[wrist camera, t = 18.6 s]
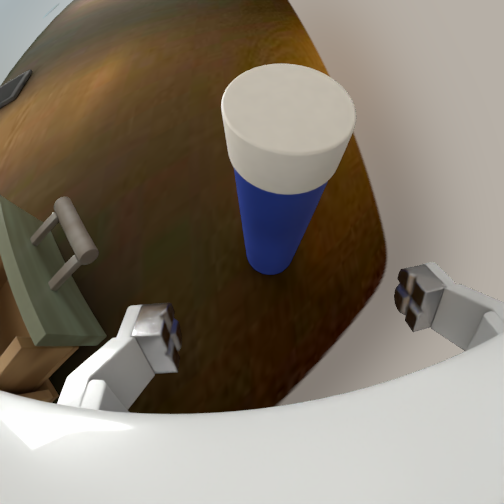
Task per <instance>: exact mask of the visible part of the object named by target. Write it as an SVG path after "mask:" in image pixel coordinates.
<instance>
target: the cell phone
mask: <svg viewBox="0 0 504 504" xmlns="http://www.w3.org/2000/svg"><path fill="white" fill-rule="evenodd" d="M31 74H32V70H28V71H26V72H24V73H22V74H21V75H19V76H17V77H15V78H14V79H12V80H10V81H9V82H7V83H5V84H4V85H2V86H1V87H0V108H1V107H2V106H4V105H6V104H8V103H9V102H11V101H13V100H14V99H15V98H16V97H17V96H18V94H19V93H20V91H21V89H22V88H23V86H24V84H25V83H26V81H27V80H28V78H29V77H30V75H31Z"/></svg>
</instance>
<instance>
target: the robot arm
mask: <svg viewBox="0 0 504 504" xmlns="http://www.w3.org/2000/svg"><path fill="white" fill-rule="evenodd" d="M398 280H399V282H400V284H399V285H398V286H397V287H396V289H395V295H394V298H395V304H396V307H397V309H398V311H399V312H400V313H402V314H404V315H406V318H405V321H406V322H407V324H408V325H409V327H410V328H411V330H412V331H413V332H415V331H418V330H422V329H426V328H429V327H431V329H433V330H434V331H436V332H437V333H439V334H440V335H442V336H443V337H445V338H447V339H448V340H449V341H451V342H452V343H454V344H456V345H457V346H458V347H460V348H461V349H463V350H464V351H465V352H463V353H461V354H459V355H456V356H454V357H451V358H449V359H447V360H444V361H442V362H440V363H437V364H435V365H432V366H429V367H427V368H424V369H422V370H419V371H416V372H413V373H410V374H408V375H405V376H402V377H399V378H396V379H393V380H390V381H386V382H383V383H380V384H377V385H373V386H370V387H367V388H363V389H359V390H355V391H352V392H347V393H343V394H339V395H335V396H331V397H326V398H322V399H317V400H312V401H306V402H301V403H295V404H289V405H283V406H276V407H269V408H261V409H253V410H243V411H232V412H218V413H199V414H145V413H130V412H129V411H128V409H129V408H130V406H131V405H132V404H133V402H134V401H135V400H136V399H137V397H138V396H139V395H140V393H141V392H142V391H143V390H144V388H145V387H146V386H147V384H148V383H149V382H150V381H151V379H152V378H153V377H154V375H155V374H156V373H173V372H178V368H179V360H180V356H179V354H178V352H177V351H178V350H179V349H180V348H181V345H182V333H181V329H180V325H179V322H178V321H177V320H175V319H174V314H175V311H174V308H173V306H172V304H171V303H159V304H144V305H132V306H129V307H128V309H127V311H126V314H125V316H124V319H123V321H122V324H121V327H120V329H119V332H118V335H117V337H116V338H112V339H111V340H109V341H108V342H107V343H106V344H105V345H104V346H102V347H101V348H100V349H99V350H98V351H96V352H95V353H94V354H93V355H92V356H91V357H89V358H88V359H87V360H86V361H85V362H84V363H82V364H81V365H80V366H79V367H78V368H77V369H75V370H74V371H73V372H72V373H71V374H70V375H68V376H67V379H66V381H65V384H64V386H63V389H62V392H61V394H60V397H59V400H58V402H57V404H55V403H49V402H44V401H40V400H35V399H31V398H27V397H23V396H19V395H15V394H11V393H8V392H4V391H1V390H0V504H504V302H502V301H499V300H497V299H495V298H492V297H490V296H488V295H485V294H483V293H481V292H478V291H476V290H474V289H471V288H469V287H466V286H464V285H462V284H456V283H455V282H454V281H453V280H452V279H451V278H450V277H449V276H448V275H447V274H446V273H445V272H444V271H443V270H442V269H441V268H440V267H439V266H438V265H437V264H436V263H434V262H431V263H426V264H423V265H419V266H415V267H410V268H405V269H401V270H400V272H399V275H398Z"/></svg>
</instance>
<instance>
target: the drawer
mask: <svg viewBox="0 0 504 504" xmlns="http://www.w3.org/2000/svg"><path fill="white" fill-rule="evenodd" d="M54 210H55V212H53V213H52V215H51V216H50V217H49V218H48V219H47V220H46V221H45V222H44V223H43V222H41V221H40V220H38V219H36V218H35V217H33V216H32V215H30V214H28V213H27V212H25V211H24V210H22V209H21V208H19V207H17V206H16V205H14V204H13V203H11V202H10V201H8V200H7V199H5V198H4V197H2V196H1V195H0V390H1V391H4V392H8V393H11V394H15V395H19V394H25V393H31V392H35V391H36V390H37V389H38V388H39V387H40V386H41V385H42V384H43V383H44V382H45V381H46V380H47V379H48V378H49V377H50V376H51V375H52V374H53V373H54V372H55V371H56V370H57V369H58V368H59V367H60V366H61V365H62V364H63V363H64V362H65V361H66V360H67V359H68V358H69V357H70V356H71V355H72V354H73V353H74V352H75V351H76V350H77V349H78V348H79V346H94V345H98V344H99V343H100V342H101V341H102V340H104V339H105V338H106V337H107V335H106V334H105V332H104V331H103V329H102V328H101V326H100V324H99V323H98V321H97V320H96V318H95V316H94V315H93V313H92V311H91V310H90V308H89V306H88V305H87V303H86V301H85V299H84V298H83V296H82V294H81V292H80V290H79V289H78V287H77V285H76V283H75V281H74V279H73V277H72V274H73V273H74V272H75V271H76V270H77V269H78V268H79V267H80V266H81V265H87V264H90V263H92V262H93V261H94V260H95V259H96V258H97V257H98V254H99V251H98V249H97V248H96V246H95V244H94V243H93V241H92V239H91V237H90V235H89V234H88V232H87V230H86V228H85V226H84V225H83V223H82V221H81V219H80V217H79V215H78V213H77V211H76V209H75V208H74V206H73V204H72V202H71V200H70V198H68V197H61V198H59V199H58V200H57V201H56V202H55V204H54ZM59 222H60V224H61V226H62V228H63V230H64V232H65V235H66V237H67V239H68V241H69V243H70V245H71V247H72V249H73V251H74V253H75V255H73V256H72V257H71V258H70V259H69V260H68V261H67V263H65V261H64V259H63V257H62V255H61V253H60V251H59V249H58V247H57V244H56V242H55V240H54V238H53V235H52V233H51V230H52V229H53V228H54V227H55V226H56V225H57V224H58V223H59Z"/></svg>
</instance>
